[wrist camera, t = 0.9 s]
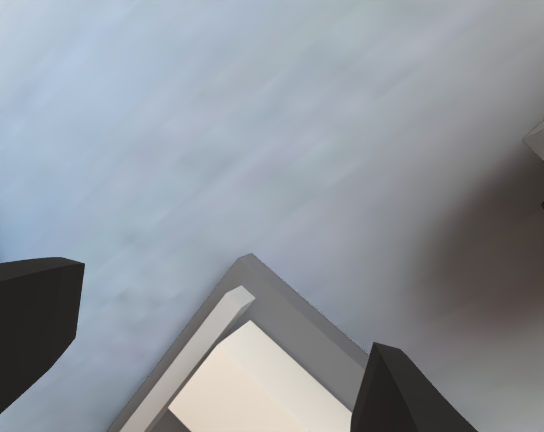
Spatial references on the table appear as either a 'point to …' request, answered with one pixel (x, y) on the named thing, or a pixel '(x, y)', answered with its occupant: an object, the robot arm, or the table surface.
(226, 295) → the grey shallow rectangular tray
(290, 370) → the breaker toggle
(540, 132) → the circuit breaker
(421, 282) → the table surface
